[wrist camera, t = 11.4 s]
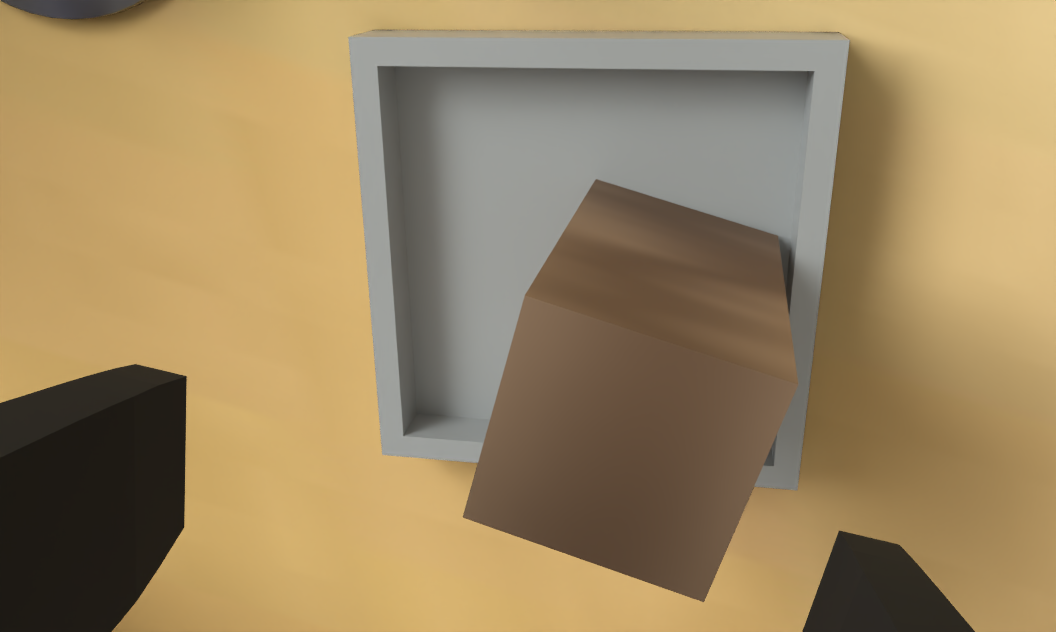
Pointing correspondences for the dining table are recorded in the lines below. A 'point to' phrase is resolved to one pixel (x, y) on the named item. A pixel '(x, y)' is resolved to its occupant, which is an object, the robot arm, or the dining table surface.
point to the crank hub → (73, 7)
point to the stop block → (640, 390)
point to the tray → (570, 188)
